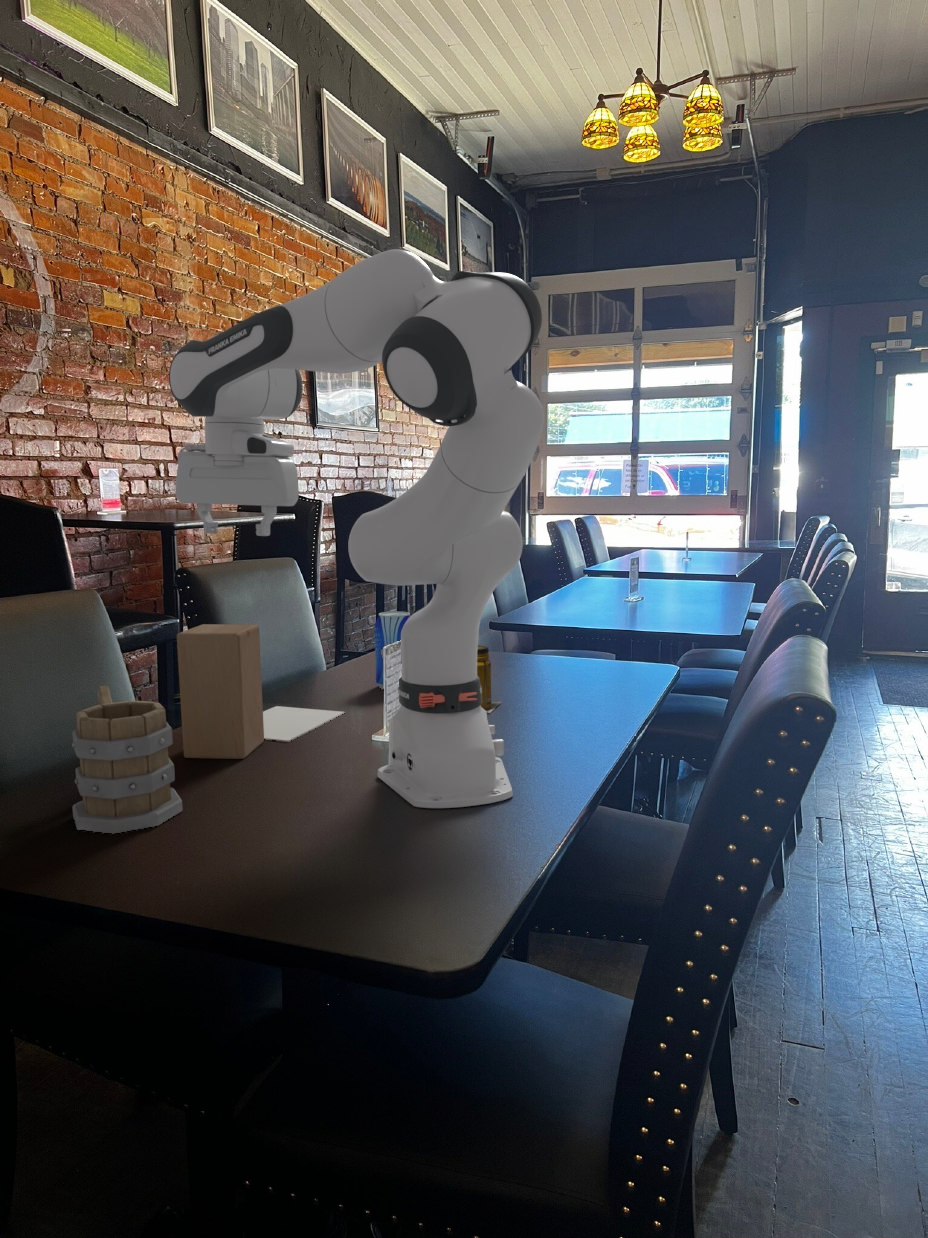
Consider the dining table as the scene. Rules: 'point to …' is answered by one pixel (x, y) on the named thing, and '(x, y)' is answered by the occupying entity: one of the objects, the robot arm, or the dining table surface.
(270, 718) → the mat
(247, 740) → the wooden block
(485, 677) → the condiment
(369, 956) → the dining table surface
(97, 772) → the tankard
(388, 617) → the beer can
